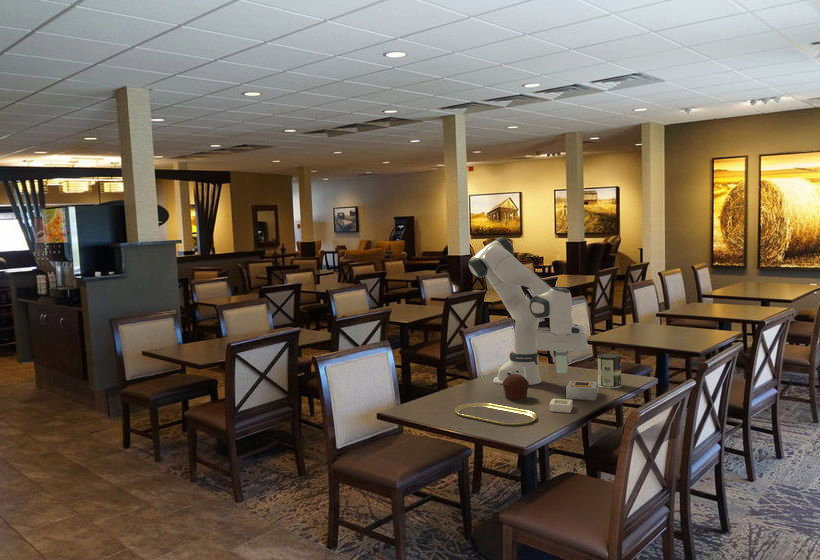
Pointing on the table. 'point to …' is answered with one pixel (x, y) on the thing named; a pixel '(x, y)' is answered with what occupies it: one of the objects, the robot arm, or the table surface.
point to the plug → (561, 362)
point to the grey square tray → (561, 405)
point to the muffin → (515, 387)
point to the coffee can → (609, 370)
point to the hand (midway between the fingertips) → (561, 361)
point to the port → (582, 390)
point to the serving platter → (496, 408)
